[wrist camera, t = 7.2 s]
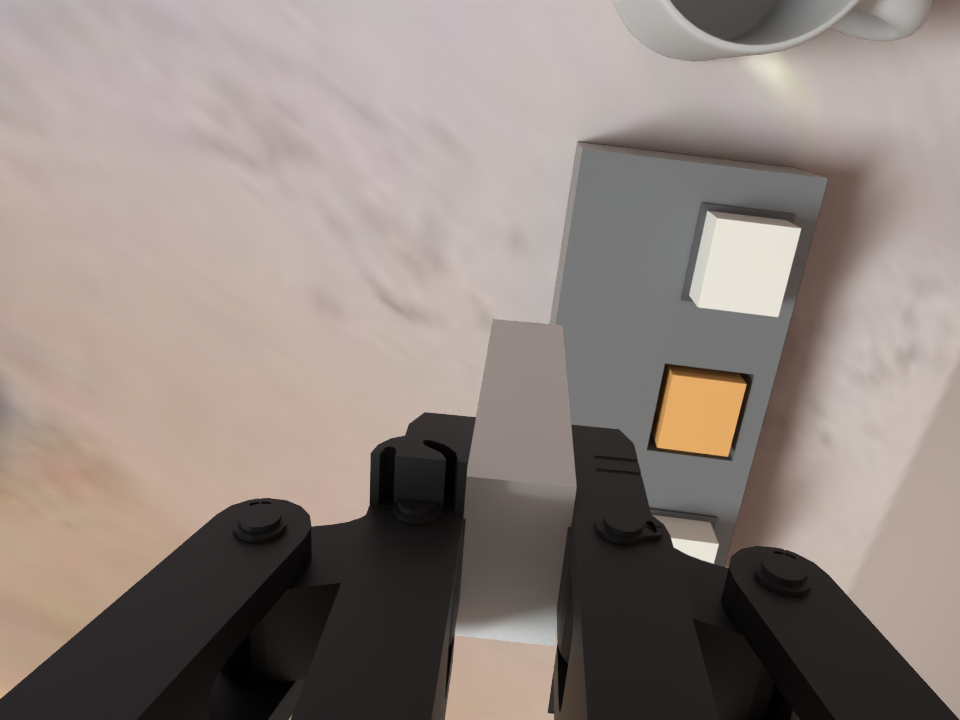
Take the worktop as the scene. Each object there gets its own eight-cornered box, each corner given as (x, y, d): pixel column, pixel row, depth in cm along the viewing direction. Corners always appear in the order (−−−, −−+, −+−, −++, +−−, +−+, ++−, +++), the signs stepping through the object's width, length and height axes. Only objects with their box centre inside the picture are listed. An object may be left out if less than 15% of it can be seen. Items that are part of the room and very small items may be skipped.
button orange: (662, 352, 40) (672, 374, 37) (730, 361, 40) (746, 384, 37) (648, 421, 42) (657, 447, 39) (713, 429, 42) (728, 456, 39)
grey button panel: (577, 141, 38) (585, 153, 32) (798, 168, 38) (847, 185, 32) (516, 548, 46) (514, 615, 41) (696, 571, 46) (720, 643, 40)
